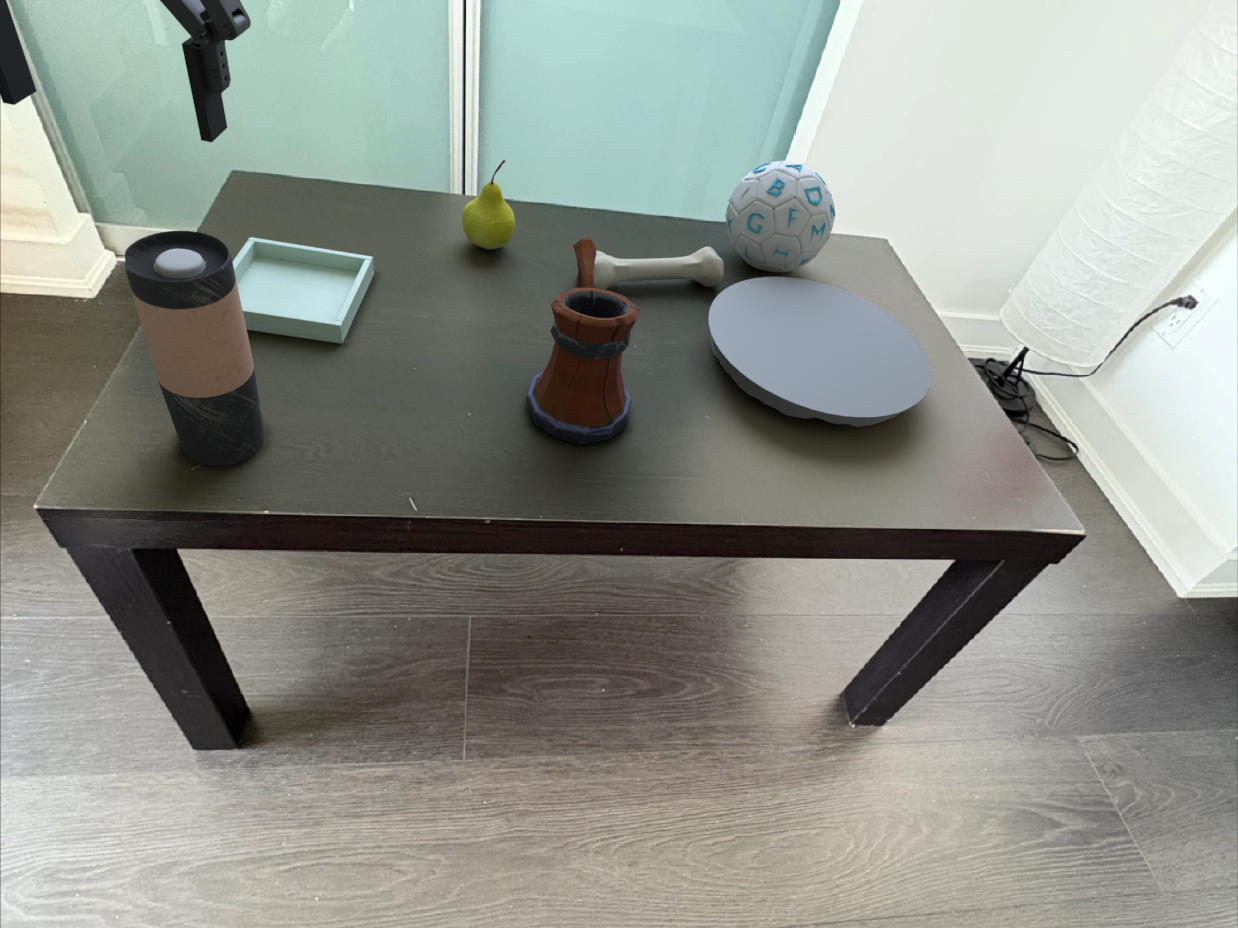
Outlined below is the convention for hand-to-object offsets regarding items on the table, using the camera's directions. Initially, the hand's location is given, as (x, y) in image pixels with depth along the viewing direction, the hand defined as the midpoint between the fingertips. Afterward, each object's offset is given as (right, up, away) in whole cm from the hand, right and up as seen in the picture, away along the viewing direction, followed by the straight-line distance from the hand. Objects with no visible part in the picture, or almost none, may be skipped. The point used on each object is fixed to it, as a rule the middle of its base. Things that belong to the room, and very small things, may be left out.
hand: (118, 116), depth 57 cm
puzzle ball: (+58, +4, +60) cm, 83 cm away
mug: (+31, -17, +32) cm, 48 cm away
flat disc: (+60, -13, +43) cm, 75 cm away
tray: (-2, -6, +35) cm, 36 cm away
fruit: (+18, +4, +50) cm, 54 cm away
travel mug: (-1, -23, +18) cm, 29 cm away
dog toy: (+40, -1, +51) cm, 65 cm away
